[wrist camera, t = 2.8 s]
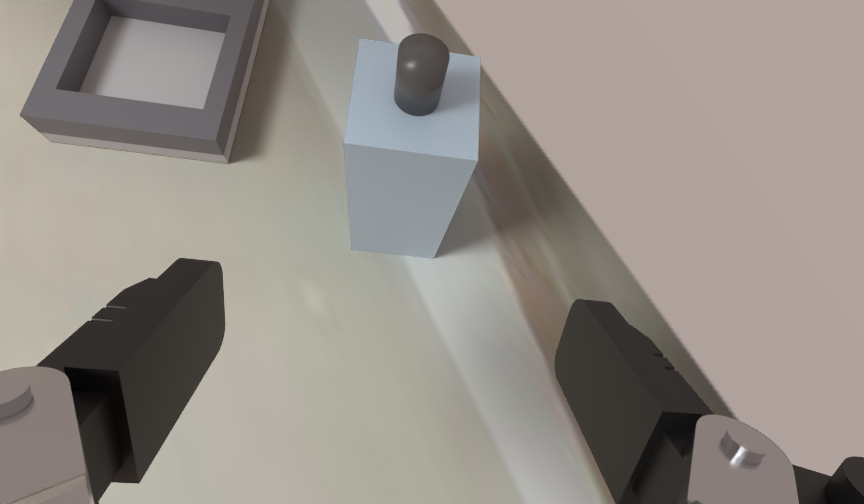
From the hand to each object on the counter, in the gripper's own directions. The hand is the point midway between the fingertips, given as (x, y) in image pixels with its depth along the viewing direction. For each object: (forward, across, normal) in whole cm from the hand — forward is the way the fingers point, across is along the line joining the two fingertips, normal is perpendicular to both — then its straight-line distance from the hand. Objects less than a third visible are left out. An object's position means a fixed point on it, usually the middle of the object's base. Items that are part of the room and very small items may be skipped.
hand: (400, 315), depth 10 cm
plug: (+15, 0, +3) cm, 15 cm away
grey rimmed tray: (+24, +14, -6) cm, 29 cm away
